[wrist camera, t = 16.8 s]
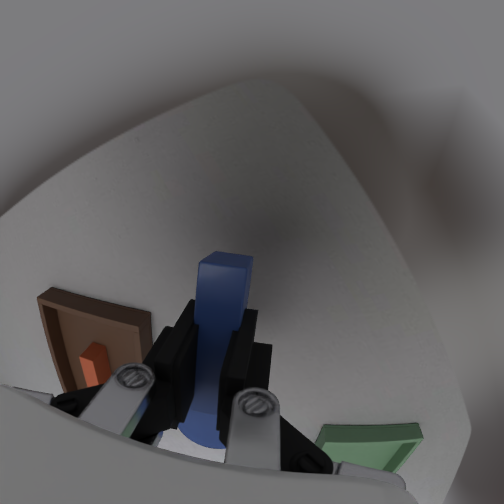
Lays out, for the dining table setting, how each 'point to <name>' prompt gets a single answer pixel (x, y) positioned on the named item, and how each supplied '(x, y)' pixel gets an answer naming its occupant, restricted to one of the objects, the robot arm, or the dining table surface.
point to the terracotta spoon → (95, 364)
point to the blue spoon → (215, 336)
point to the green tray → (370, 444)
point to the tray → (91, 333)
